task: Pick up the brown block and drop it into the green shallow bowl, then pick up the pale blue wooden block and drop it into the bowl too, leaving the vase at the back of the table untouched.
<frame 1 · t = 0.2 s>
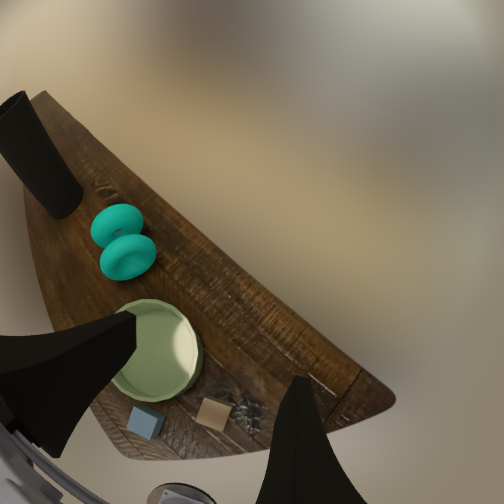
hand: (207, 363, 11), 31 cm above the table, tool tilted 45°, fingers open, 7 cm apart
vase: (66, 201, 53), on the table
green shallow bowl: (156, 353, 39), on the table
donuts: (133, 255, 47), on the table
blue block: (150, 420, 34), on the table
brown block: (216, 411, 35), on the table
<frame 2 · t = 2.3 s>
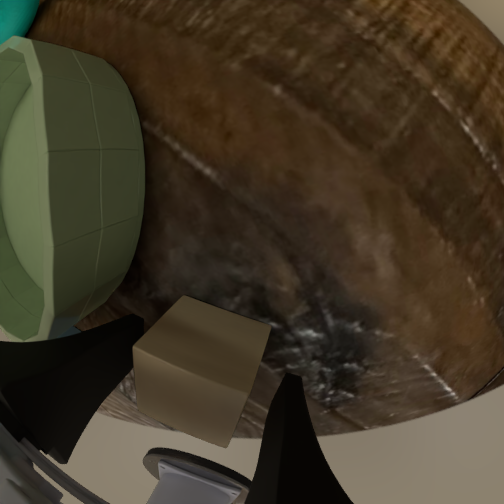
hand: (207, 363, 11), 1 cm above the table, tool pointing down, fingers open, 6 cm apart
green shallow bowl: (46, 183, 12), on the table
donuts: (24, 18, 9), on the table
brown block: (218, 344, 12), on the table
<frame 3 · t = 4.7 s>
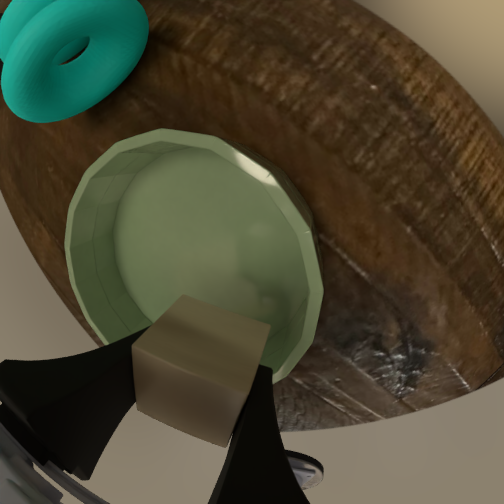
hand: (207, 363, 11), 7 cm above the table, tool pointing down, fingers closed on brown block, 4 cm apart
green shallow bowl: (200, 258, 18), on the table
donuts: (108, 51, 14), on the table
brown block: (217, 343, 12), point 6 cm above the table, touching gripper
when the fingers open (3 cm above the table, at t = 6.5 s): brown block drops 1 cm, resting on green shallow bowl.
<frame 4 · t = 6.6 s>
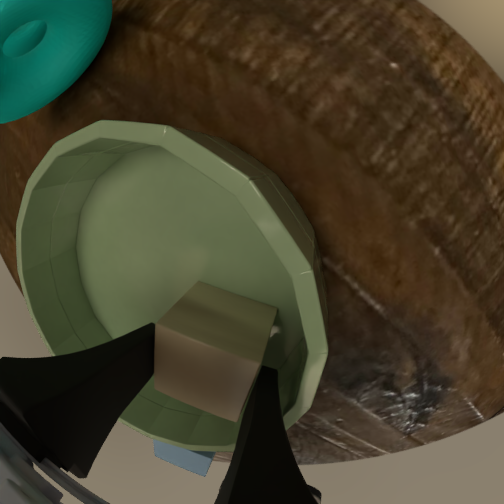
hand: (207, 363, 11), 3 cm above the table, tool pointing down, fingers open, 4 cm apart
green shallow bowl: (173, 283, 14), on the table
donuts: (75, 39, 11), on the table
blue block: (200, 418, 17), on the table
brown block: (228, 327, 13), point 1 cm above the table, touching green shallow bowl
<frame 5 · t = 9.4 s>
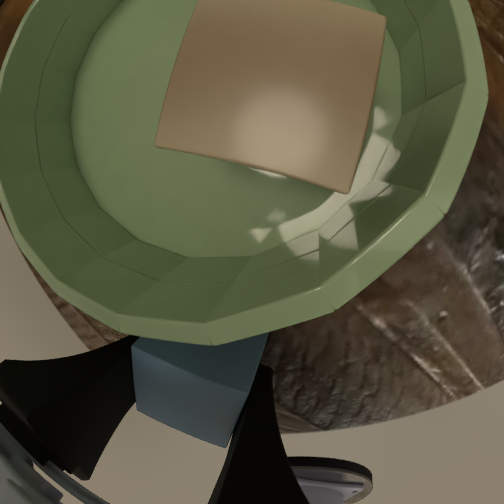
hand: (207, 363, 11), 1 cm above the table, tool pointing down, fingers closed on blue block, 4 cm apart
green shallow bowl: (204, 73, 8), on the table
blue block: (217, 344, 12), on the table, touching gripper
brown block: (289, 109, 8), resting on green shallow bowl
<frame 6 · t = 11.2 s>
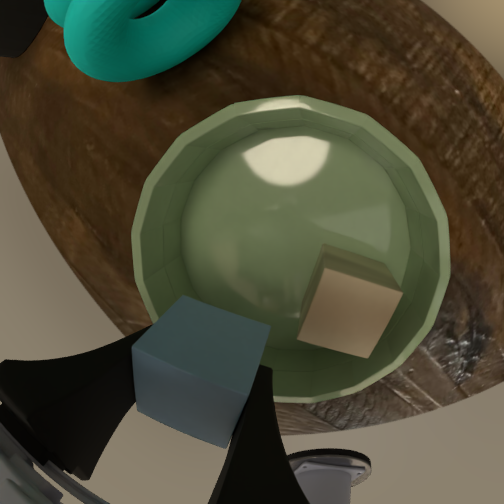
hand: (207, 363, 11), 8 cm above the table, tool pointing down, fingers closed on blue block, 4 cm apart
vase: (31, 24, 14), on the table
green shallow bowl: (293, 248, 16), on the table
donuts: (173, 19, 13), on the table
blue block: (217, 344, 12), point 6 cm above the table, touching gripper
brown block: (343, 283, 15), resting on green shallow bowl
when the fingers open (3 cm above the table, at t = 13.1 s): blue block drops 1 cm, resting on green shallow bowl.
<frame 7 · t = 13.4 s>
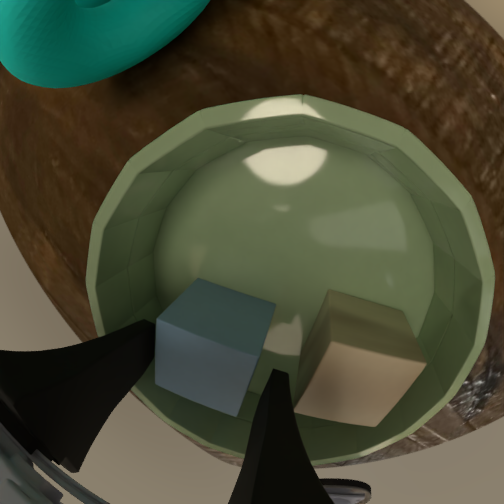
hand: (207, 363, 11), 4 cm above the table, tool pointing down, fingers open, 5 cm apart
green shallow bowl: (290, 293, 13), on the table
donuts: (146, 7, 10), on the table
blue block: (228, 323, 13), resting on green shallow bowl
brown block: (351, 334, 12), resting on green shallow bowl
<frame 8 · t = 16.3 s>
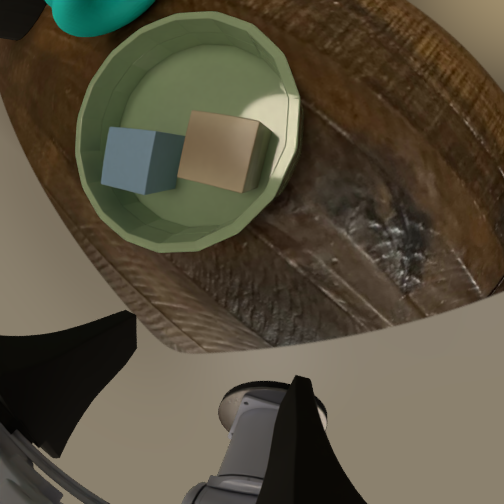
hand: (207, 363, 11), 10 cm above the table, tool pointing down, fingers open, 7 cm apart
vase: (32, 13, 16), on the table
green shallow bowl: (196, 131, 18), on the table
blue block: (157, 158, 19), resting on green shallow bowl
brown block: (236, 152, 17), resting on green shallow bowl
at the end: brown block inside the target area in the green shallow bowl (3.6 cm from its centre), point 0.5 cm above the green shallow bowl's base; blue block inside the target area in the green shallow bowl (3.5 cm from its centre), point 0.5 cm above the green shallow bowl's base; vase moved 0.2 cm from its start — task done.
